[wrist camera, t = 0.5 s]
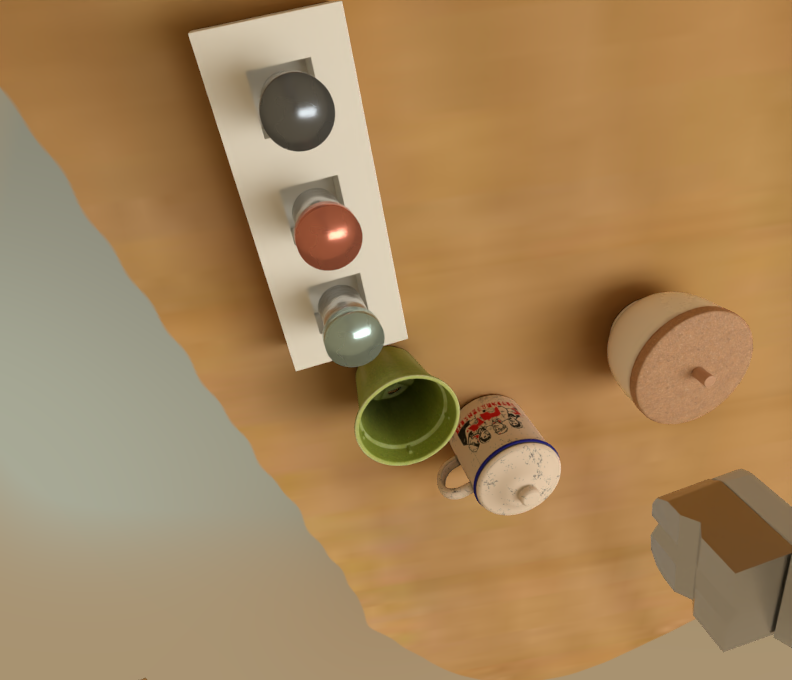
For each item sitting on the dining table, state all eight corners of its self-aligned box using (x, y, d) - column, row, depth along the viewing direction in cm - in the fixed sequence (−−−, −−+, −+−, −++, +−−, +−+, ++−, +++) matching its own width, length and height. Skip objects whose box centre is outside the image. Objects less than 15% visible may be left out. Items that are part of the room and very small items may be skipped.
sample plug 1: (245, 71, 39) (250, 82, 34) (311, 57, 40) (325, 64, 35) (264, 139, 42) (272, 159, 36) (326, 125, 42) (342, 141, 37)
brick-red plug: (279, 190, 44) (288, 216, 38) (338, 175, 44) (355, 198, 39) (295, 246, 46) (305, 278, 41) (351, 232, 46) (368, 260, 41)
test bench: (190, 30, 42) (187, 33, 38) (329, 1, 43) (342, 0, 39) (289, 343, 55) (295, 371, 51) (393, 313, 57) (408, 338, 53)
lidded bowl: (581, 296, 61) (647, 349, 52) (692, 257, 63) (775, 301, 53) (590, 392, 68) (650, 454, 59) (690, 355, 69) (764, 409, 60)
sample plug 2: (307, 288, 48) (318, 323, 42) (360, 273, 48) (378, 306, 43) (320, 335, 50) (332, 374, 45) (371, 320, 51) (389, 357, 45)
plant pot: (321, 358, 57) (336, 410, 50) (409, 312, 57) (438, 357, 50) (362, 425, 62) (381, 482, 55) (443, 383, 62) (474, 434, 55)
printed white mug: (510, 377, 64) (564, 445, 54) (532, 435, 69) (585, 507, 59) (409, 428, 64) (444, 506, 54) (438, 483, 69) (475, 563, 59)
